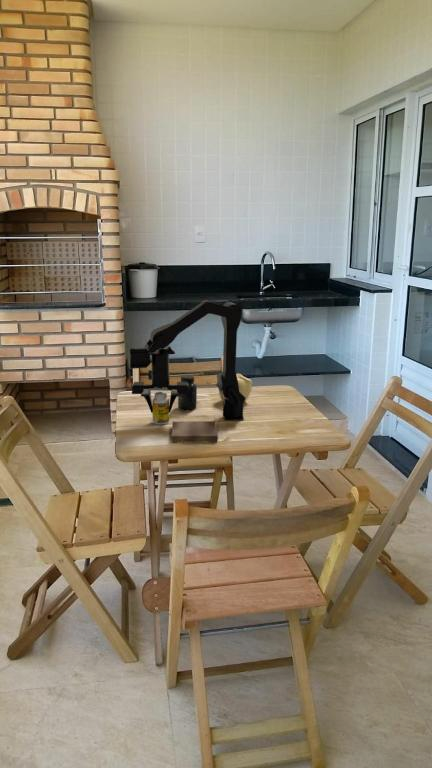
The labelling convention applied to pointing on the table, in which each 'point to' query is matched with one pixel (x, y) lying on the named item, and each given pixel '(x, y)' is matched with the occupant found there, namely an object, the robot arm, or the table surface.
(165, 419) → the supplement bottle
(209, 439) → the walnut block
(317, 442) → the table surface
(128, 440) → the table surface
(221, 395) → the sculpture
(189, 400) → the supplement bottle
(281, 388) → the table surface
